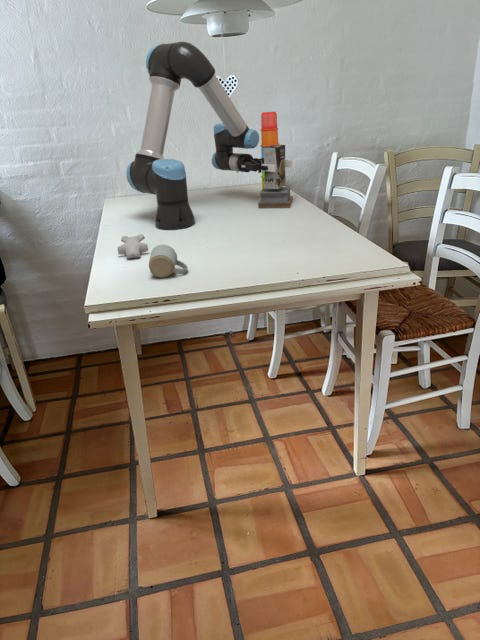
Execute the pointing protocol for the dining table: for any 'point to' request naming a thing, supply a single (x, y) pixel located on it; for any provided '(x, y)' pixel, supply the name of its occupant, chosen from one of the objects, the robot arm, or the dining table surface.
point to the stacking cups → (268, 135)
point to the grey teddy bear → (132, 246)
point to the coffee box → (276, 157)
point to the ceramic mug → (165, 262)
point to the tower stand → (275, 198)
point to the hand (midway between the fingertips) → (283, 166)
